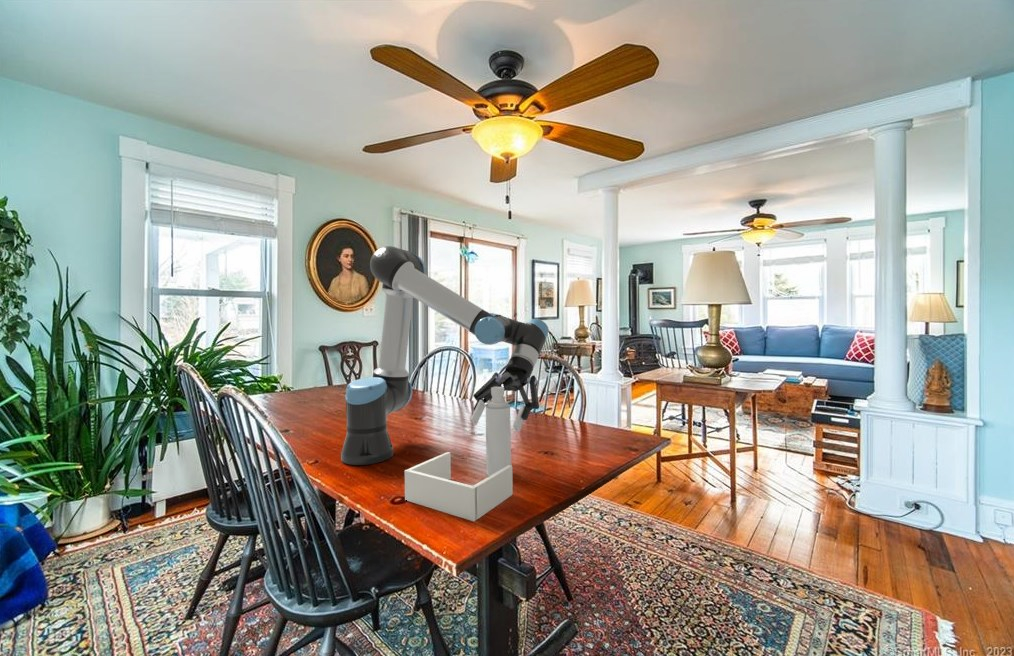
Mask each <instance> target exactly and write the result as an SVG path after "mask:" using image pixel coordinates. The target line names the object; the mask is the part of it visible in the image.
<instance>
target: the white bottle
mask: <svg viewBox="0 0 1014 656" xmlns="http://www.w3.org/2000/svg"><path fill="white" fill-rule="evenodd" d="M491 395H492V399H491V400H489V401H487V403H485V405H486V406H485V452H486V453H485V457H486V459H485V463H486V464H485V466H486V475H487V476H488V477H489V476H491V475H492V474H494V473H496V472H498V471H499V470H501V469H503V468H505V467H506V466H508V465H511V466H512V453H511V452H512V444H511V443H512V441H511V440H512V439H511V436H512V435H511V434H512V432H511V430H512V429H511V404H510V403H509V402H508V401H507V400H504V396H505V391H504V386H502V387H492V388H491Z"/></svg>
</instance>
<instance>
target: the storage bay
mask: <svg viewBox="0 0 1014 656" xmlns="http://www.w3.org/2000/svg"><path fill="white" fill-rule="evenodd" d="M451 456H452V455H451V452H449V451H446V452H445V453H442V454H440V455H437V456H435V457H433V458H430V459H428V460H425V461H423V462H421V463H419V464H416V465H414V466H412V467H410V468H409V467H408V468H407V469H404V501H406V500H407V502H410V503H414V504H416V505H419V506H422V507H427V508H429V509H433V510H435V511H438V512H442V513H445V514H449V515H452V516H455V517H458V518H462V519H465V520H467V521H471V522H476V521H477V520H478V519H480V518H481V517H483V516H484V515H485V514H487V513H489V512H490V511H491V510H493V509H494V508H495V507H497V506H498V505H500V504H502V503H503V502H504V501H506V500H507V499H509V498H510V497H512V495H514V494H513V493H514V492H513V490H514V489H513V488H514V487H513V480H514V479H513V465H512V464H511V465H508V466H506V467H505V468H503V469H501V470H499V471H498V472H496V473H494V474H492V475H491V476H488V477H485V478H484V479H482V480H481V481H479V482H477V483H475V484H473V485H472V484H471V485H470V484H467V483H462V482H460V481H456V480H452V475H451V474H452V473H451V472H452V468H451V467H452V466H451V465H452V464H451V463H452V462H451V460H452V459H451V458H452V457H451Z"/></svg>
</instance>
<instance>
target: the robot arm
mask: <svg viewBox="0 0 1014 656" xmlns="http://www.w3.org/2000/svg"><path fill="white" fill-rule="evenodd" d="M369 267H370V272H371V274H372V275H373V277H374V278H375V279H376V280H377V281H378V282H379V283H382V288H381V290H382V291H383V292H384V294H385V302H384V303H385V304H384V313H383V321H382V322H383V324H382V330H381V331H382V333H381V342H380V351H379V362H378V366H377V367H376V368H375V369H374V370H373V373H372V376H371V377H370V376H369V377H365V378H359V379H356V380H353V381H350V382H349V384H347V386H346V389H345V396H344V398H345V408H346V411H345V412H346V415H345V416H346V436H345V438H344V443H343V446H342V449H341V452H340V461H341V462H342V463H344V464H347V465H351V466H364V465H366V466H367V465H374V464H379V463H381V462H385V461H387V460H389V459H391V458H392V457H393V455H394V446H393V444H392V441H391V437H390V435H389V432H388V415H390V414H392V413H395V412H398V411H400V410H401V409H403V408H404V407H406V406H407V404H409V402H410V400H412V395H413V386H412V383H411V382H410V372H408V370H407V369H406V363H407V354H408V347H409V346H408V345H409V337H410V326H411V320H412V319H411V318H412V309H413V299H416V300H417V301H419V302H420V303H421V304H423V305H425V306H426V307H428V308H430V309H431V310H434V312H436V313H439V314H440V315H441V316H443V317H445V318H447V319H448V320H449V321H451V322H453V323H454V324H456V325H458V326H459V327H461V328H462V329H464V330H466V331H468V332H469V333H470V334H472V335H474V336H475V338H476V339H477V340H478V342H480V343H481V344H483V345H496V344H499V343H502V342H504V343H506V344H509V345H512V346H514V350H513V351H512V353H511V356H510V358H509V359H508V362H507V364H506V367H505V371H504V373H503V374H499V373H498V372H497V371H496V372H494V373H493V374H492V376H491V377H490V379H489V380H487V381H486V383H484V384H483V385H482V386H481V387H480V388H479V389H478V390H477V391H476V392H475V393H474V394H473V395H472V396H473V398H474V399H475V401H476V403H475V404H474V407H473V412H472V415H471V417H470V421H471V422H472V424H473V425H474V426H477V425H478V424H479V421H480V419H481V416H482V415H483V412H484V411H485V409H486V404H487V403H488V402H489V401H491V400H492V395H491V388H492V387H504V392H505V391H508V392H510V391H513V392H517V391H519V394H520V397H521V398H522V400H523V404H521V406H520V409H519V411H518V413H517V416H516V417H515V419H514V423H513V425H512V427H513V429H514V430H515V431H516V432H517V433H520V432H521V429H522V426H523V424H524V421H527V420H528V418H529V416H530V413H531V411H532V410H539V408H540V403H539V395H538V388H537V386H538V384H539V380H538V379H537V377H536V375H532V374H533V371H534V368H535V366H536V364H537V362H538V359H539V357H540V354H541V352H542V351H543V348H544V345H545V343H546V342H547V341H546V340H547V338H548V334H549V333H550V331H549V326H548V324H547V323H546V322H544V321H543V320H542V319H539V318H531V319H529V320H528V321H527V322H521V321H519V320H515V319H512V318H510V317H508V316H507V317H506V316H503V315H501V314H499V313H494V312H488V311H487V310H485V309H483V308H481V307H480V306H478V305H476V304H475V303H473V302H472V301H470V300H468V299H466V298H465V297H463V296H462V295H460V294H458V293H456V292H455V291H453V290H451V289H450V288H448V286H445V285H443V284H442V283H440V282H438V281H436V279H434V278H431V277H430V276H428V275H427V274H426V264H425V263H424V261H423V259H422V258H421V257H420V256H419V255H418V254H415V253H414V252H413V251H411V250H410V251H409V250H405V249H402V248H398V247H395V246H391V245H388V246H382V247H379V249H377V250H376V251H375V252H373V254H372V255H371V257H370V261H369ZM528 384H529V388H530V389H529V391H530V399H531V401H530V399H529V397H528V395H527V393H526V390H525V388H524V387H525V386H526V385H528ZM502 385H503V386H502Z"/></svg>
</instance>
